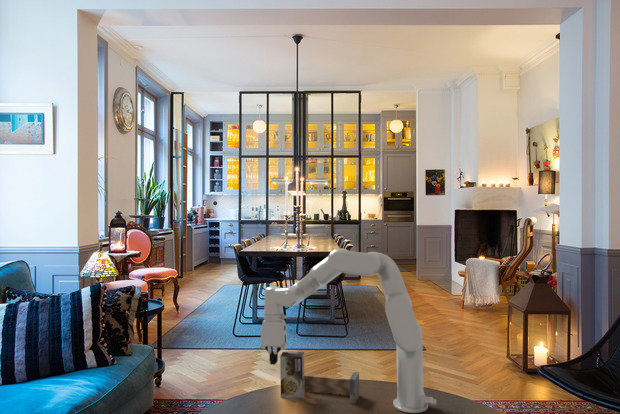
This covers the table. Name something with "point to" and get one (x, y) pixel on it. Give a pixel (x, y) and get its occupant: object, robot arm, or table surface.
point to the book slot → (331, 387)
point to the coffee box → (292, 374)
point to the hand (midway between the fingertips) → (273, 363)
